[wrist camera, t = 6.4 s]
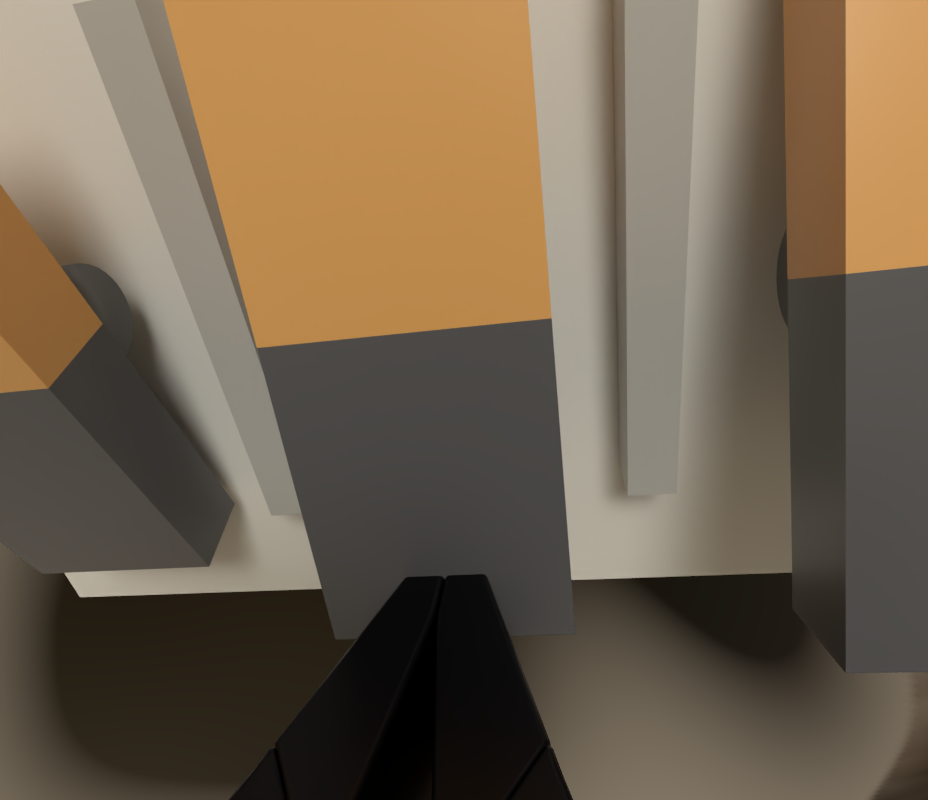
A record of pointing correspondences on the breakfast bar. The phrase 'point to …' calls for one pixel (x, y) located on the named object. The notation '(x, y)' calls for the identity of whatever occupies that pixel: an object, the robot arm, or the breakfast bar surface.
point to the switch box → (568, 256)
